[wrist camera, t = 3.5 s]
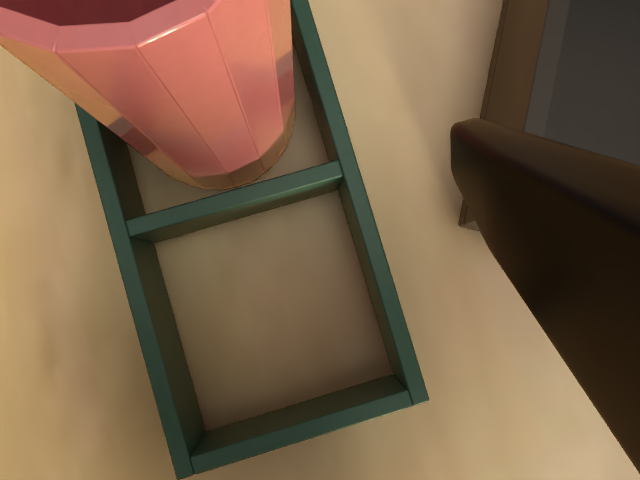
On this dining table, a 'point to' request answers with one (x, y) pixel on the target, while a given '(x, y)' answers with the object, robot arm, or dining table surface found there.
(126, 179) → the rack
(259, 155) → the cup
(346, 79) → the dining table surface
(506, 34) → the square open box
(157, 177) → the dining table surface
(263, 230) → the dining table surface
